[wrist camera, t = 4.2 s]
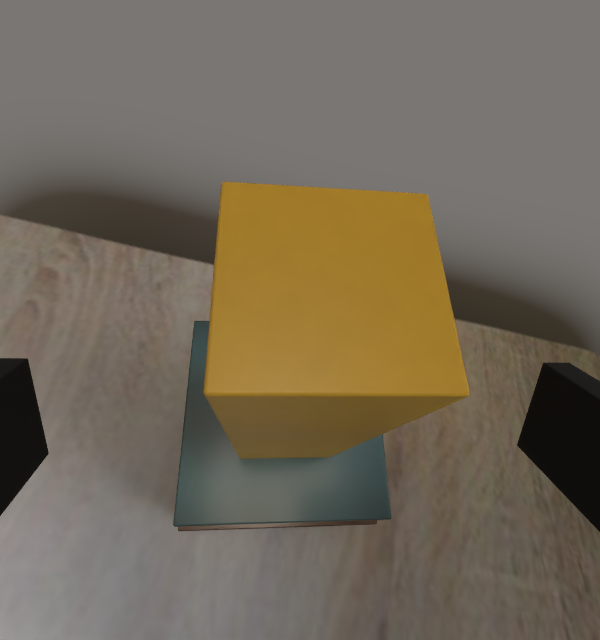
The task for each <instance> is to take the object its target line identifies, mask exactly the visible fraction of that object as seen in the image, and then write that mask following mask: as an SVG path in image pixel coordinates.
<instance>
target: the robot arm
mask: <svg viewBox="0 0 600 640" xmlns="http://www.w3.org/2000/svg"><path fill="white" fill-rule="evenodd" d="M517 446H518V447H519V448H520V449H521V450H522V451H523V452H524V453H525V454H526V455H527V456H528V457H529V458H530V459H531V460H532V461H533V462H534V464H535V465H536V466H537V467H538V468H539V469H540V470H541V471H542V472H543V473H544V474H545V475H546V476H547V477H548V478H549V479H550V480H551V481H552V482H553V483H554V484H555V485H556V487H557V488H558V489H559V490H560V491H561V492H562V493H563V494H564V495H565V496H566V497H567V498H568V499H569V500H570V501H571V502H572V503H573V504H574V505H575V506H576V507H577V509H578V510H579V511H580V512H581V513H582V514H583V515H584V516H585V517H586V518H587V519H588V520H589V521H590V522H591V523H592V524H593V525H594V526H595V527H596V528H597V529H598V531H599V532H600V381H598V380H597V379H595V378H593V377H592V376H590V375H588V374H587V373H585V372H583V371H582V370H580V369H578V368H577V367H575V366H573V365H572V364H570V363H543V365H542V368H541V371H540V375H539V378H538V381H537V384H536V387H535V390H534V393H533V397H532V400H531V403H530V406H529V409H528V412H527V415H526V419H525V422H524V425H523V428H522V431H521V434H520V437H519V441H518V444H517ZM48 454H49V453H48V448H47V444H46V439H45V435H44V430H43V426H42V421H41V416H40V412H39V407H38V403H37V398H36V394H35V389H34V385H33V380H32V376H31V371H30V367H29V362H28V359H22V358H0V516H1V514H2V513H3V512H4V510H5V509H6V508H7V507H8V505H9V504H10V503H11V501H12V500H13V499H14V498H15V496H16V495H17V494H18V492H19V491H20V490H21V489H22V487H23V486H24V485H25V483H26V482H27V481H28V480H29V478H30V477H31V476H32V474H33V473H34V472H35V471H36V469H37V468H38V467H39V465H40V464H41V463H42V462H43V460H44V459H45V458H46V456H47V455H48Z"/></svg>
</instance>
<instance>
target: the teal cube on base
mask: <svg viewBox="0 0 600 640" xmlns="http://www.w3.org/2000/svg"><path fill="white" fill-rule="evenodd" d="M208 332H209V321H195V322H194V330H193V340H192V350H191V359H190V369H189V379H188V388H187V398H186V408H185V417H184V427H183V437H182V446H181V456H180V466H179V475H178V485H177V494H176V504H175V514H174V523H173V525H174V526H175V527H178V531H199V530H227V529H256V528H284V527H312V526H341V525H369V524H377V520H384V519H391V509H390V500H389V490H388V481H387V472H386V463H385V454H384V445H383V435H382V434H381V435H379V436H377V437H374V438H372V439H370V440H368V441H365V442H363V443H361V444H358V445H356V446H354V447H352V448H349V449H347V450H345V451H343V452H340V453H338V454H336V455H333V456H331V457H316V458H253V459H240V458H239V456H238V454H237V453H236V451H235V449H234V447H233V445H232V444H231V442H230V440H229V438H228V436H227V435H226V433H225V431H224V429H223V428H222V426H221V424H220V422H219V420H218V419H217V417H216V415H215V413H214V411H213V410H212V408H211V406H210V404H209V403H208V401H207V399H206V397H205V395H204V392H203V391H204V379H205V368H206V356H207V344H208Z"/></svg>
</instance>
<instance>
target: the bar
mask: <svg viewBox="0 0 600 640" xmlns="http://www.w3.org/2000/svg"><path fill="white" fill-rule="evenodd" d="M203 392H204V395H205V397H206V399H207V401H208V403H209V404H210V406H211V408H212V410H213V411H214V413H215V415H216V417H217V419H218V420H219V422H220V424H221V426H222V428H223V429H224V431H225V433H226V435H227V436H228V438H229V440H230V442H231V444H232V445H233V447H234V449H235V451H236V453H237V454H238V456H239V458H240V459H253V458H316V457H331V456H333V455H336V454H338V453H340V452H343V451H345V450H347V449H349V448H352V447H354V446H356V445H358V444H361V443H363V442H365V441H368V440H370V439H372V438H374V437H377V436H379V435H381V434H383V433H386V432H388V431H390V430H393V429H395V428H397V427H399V426H402V425H404V424H406V423H408V422H411V421H413V420H415V419H418V418H420V417H422V416H424V415H427V414H429V413H431V412H434V411H436V410H438V409H440V408H443V407H445V406H447V405H449V404H452V403H454V402H456V401H459V400H461V399H463V398H465V397H468V396H469V393H470V392H469V387H468V382H467V377H466V373H465V368H464V363H463V358H462V354H461V349H460V344H459V340H458V335H457V330H456V325H455V321H454V316H453V312H452V307H451V302H450V297H449V293H448V288H447V283H446V278H445V273H444V269H443V264H442V259H441V254H440V250H439V245H438V240H437V235H436V231H435V226H434V221H433V217H432V212H431V207H430V202H429V198H428V195H427V194H419V193H404V192H386V191H371V190H354V189H338V188H321V187H304V186H288V185H272V184H256V183H239V182H222V184H221V192H220V204H219V215H218V228H217V239H216V250H215V262H214V274H213V286H212V297H211V309H210V321H209V332H208V344H207V356H206V368H205V379H204V391H203Z"/></svg>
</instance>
